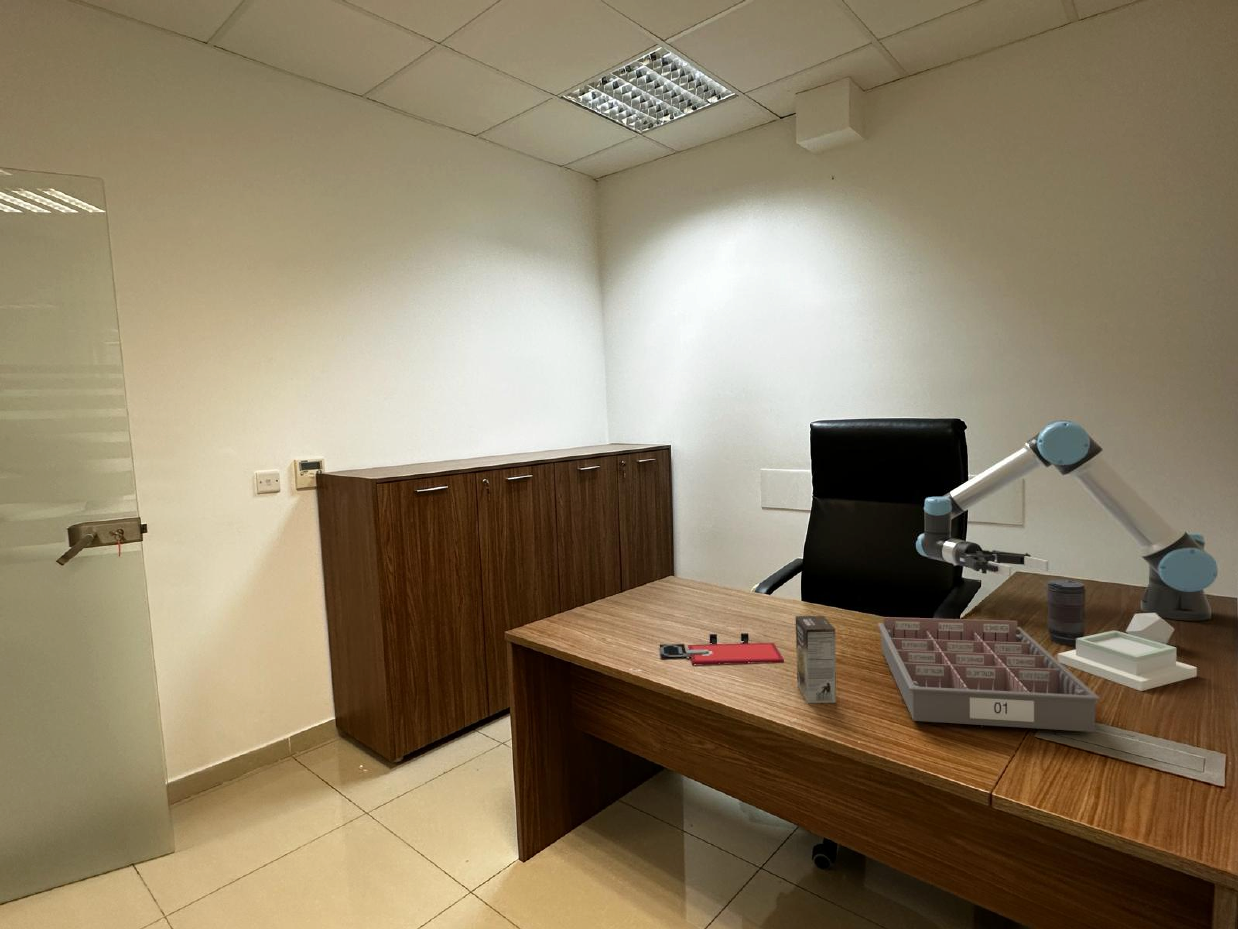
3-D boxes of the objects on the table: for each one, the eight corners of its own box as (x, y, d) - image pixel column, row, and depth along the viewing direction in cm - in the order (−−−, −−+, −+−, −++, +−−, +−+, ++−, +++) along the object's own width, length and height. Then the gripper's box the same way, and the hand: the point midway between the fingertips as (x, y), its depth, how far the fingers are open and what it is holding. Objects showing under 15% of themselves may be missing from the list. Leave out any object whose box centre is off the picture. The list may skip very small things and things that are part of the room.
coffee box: (796, 686, 146) (794, 615, 145) (825, 685, 146) (823, 614, 145) (806, 704, 137) (804, 629, 136) (837, 703, 137) (836, 628, 136)
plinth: (1110, 649, 159) (1110, 625, 159) (1196, 676, 142) (1197, 649, 142) (1057, 661, 153) (1057, 637, 153) (1140, 691, 136) (1141, 663, 136)
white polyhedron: (1175, 656, 155) (1186, 620, 157) (1139, 638, 156) (1150, 602, 159) (1148, 657, 163) (1159, 622, 165) (1114, 639, 164) (1125, 605, 166)
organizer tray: (910, 729, 125) (909, 679, 124) (877, 653, 164) (877, 615, 163) (1101, 742, 117) (1102, 688, 117) (1020, 659, 156) (1020, 618, 155)
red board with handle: (659, 645, 176) (662, 668, 161) (659, 635, 176) (661, 657, 161) (770, 642, 175) (783, 665, 160) (770, 632, 175) (783, 654, 160)
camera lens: (1062, 633, 172) (1062, 577, 171) (1092, 643, 164) (1093, 584, 163) (1039, 637, 169) (1039, 581, 168) (1069, 647, 162) (1069, 588, 160)
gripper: (994, 561, 199) (1061, 577, 179) (930, 570, 191) (994, 588, 171) (994, 537, 199) (1062, 550, 179) (930, 545, 190) (994, 559, 170)
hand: (1029, 568), depth 175 cm, fingers open, 13 cm apart
